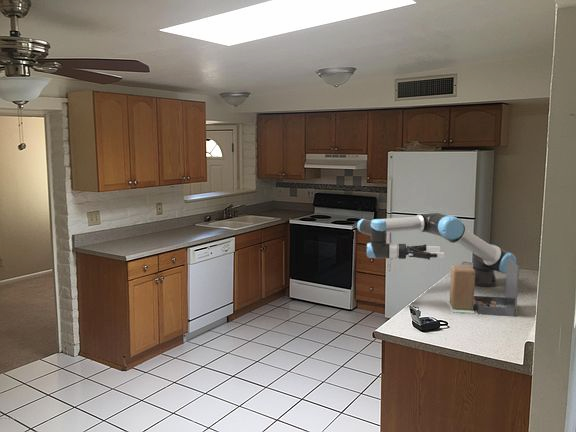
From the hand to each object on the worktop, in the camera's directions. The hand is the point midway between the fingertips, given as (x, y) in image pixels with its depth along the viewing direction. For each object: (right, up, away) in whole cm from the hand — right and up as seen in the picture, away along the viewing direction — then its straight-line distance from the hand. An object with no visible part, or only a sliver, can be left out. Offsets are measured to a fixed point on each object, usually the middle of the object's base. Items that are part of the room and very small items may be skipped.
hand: (441, 252), depth 247 cm
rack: (+25, -28, -1) cm, 37 cm away
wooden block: (+10, -27, +1) cm, 29 cm away
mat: (+10, -28, +2) cm, 30 cm away
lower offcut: (+19, -28, 0) cm, 34 cm away
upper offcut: (+24, -27, -1) cm, 36 cm away
